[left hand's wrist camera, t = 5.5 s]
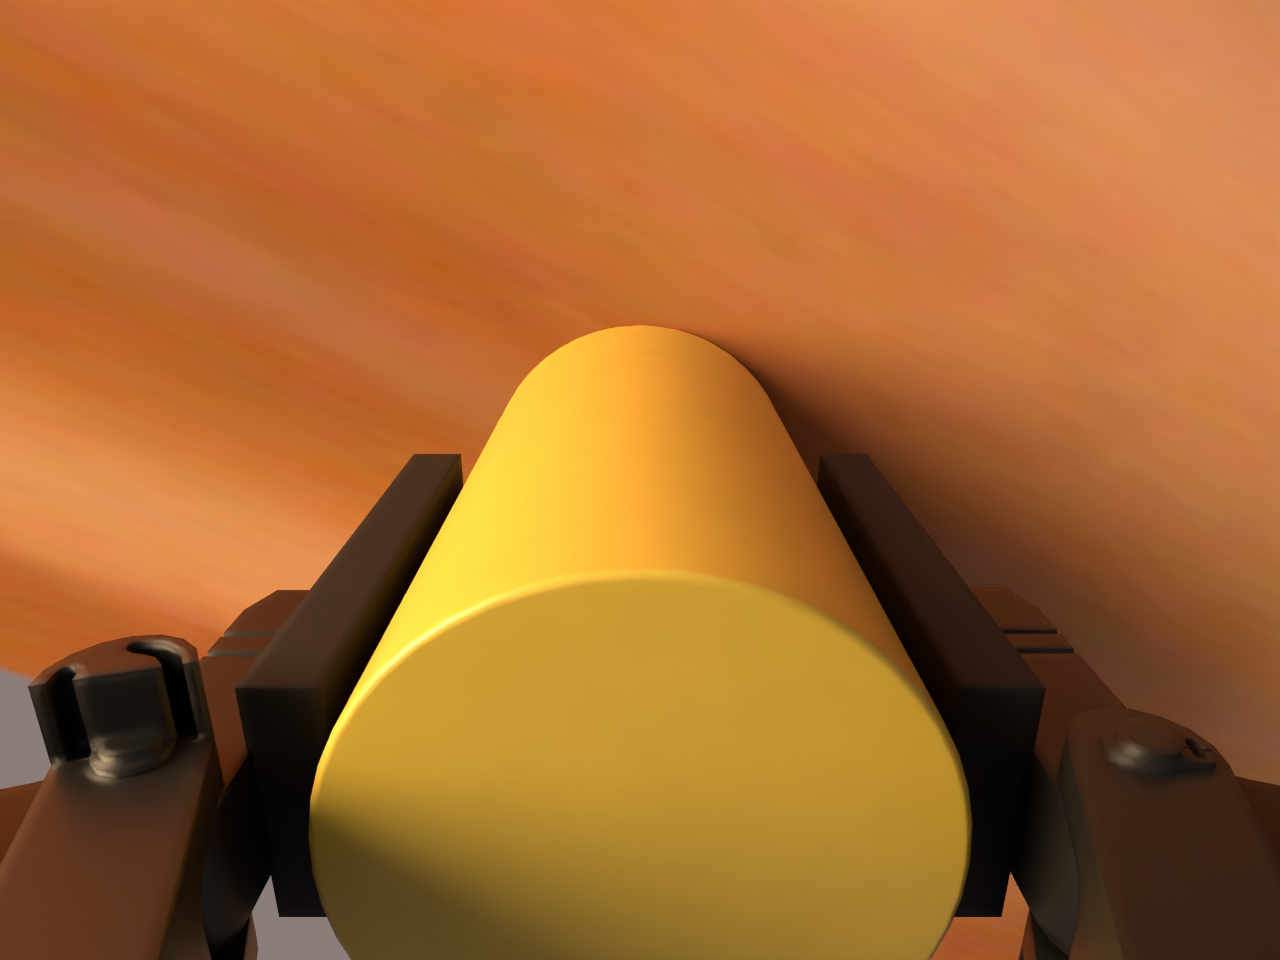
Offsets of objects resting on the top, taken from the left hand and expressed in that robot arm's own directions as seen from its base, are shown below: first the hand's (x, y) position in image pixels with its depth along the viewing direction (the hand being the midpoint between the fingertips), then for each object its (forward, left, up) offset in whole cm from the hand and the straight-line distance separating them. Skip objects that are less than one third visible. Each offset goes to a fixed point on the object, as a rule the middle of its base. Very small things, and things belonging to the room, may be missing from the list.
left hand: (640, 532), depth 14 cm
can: (0, 0, -3) cm, 3 cm away
